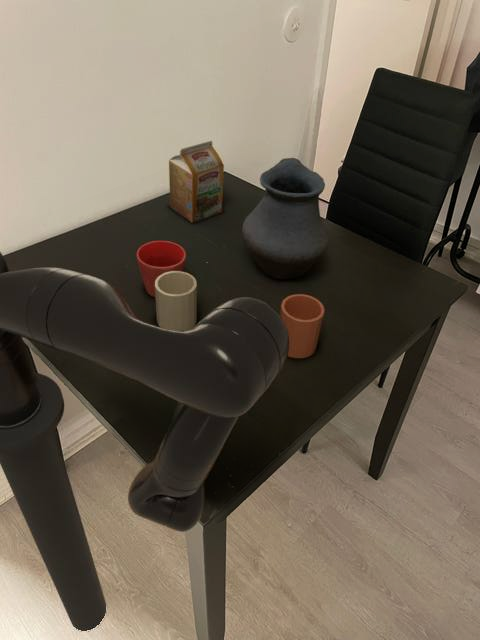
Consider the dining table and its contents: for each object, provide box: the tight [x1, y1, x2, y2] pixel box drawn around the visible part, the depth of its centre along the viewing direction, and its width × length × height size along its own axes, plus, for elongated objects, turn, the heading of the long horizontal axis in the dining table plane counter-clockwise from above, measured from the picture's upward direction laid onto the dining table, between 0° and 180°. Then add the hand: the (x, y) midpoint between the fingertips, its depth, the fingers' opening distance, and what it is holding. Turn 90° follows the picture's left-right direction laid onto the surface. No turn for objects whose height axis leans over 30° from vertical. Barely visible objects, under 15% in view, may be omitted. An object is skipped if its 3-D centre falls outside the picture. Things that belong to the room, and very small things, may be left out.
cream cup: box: [155, 271, 198, 331], centre depth 105 cm, size 8×8×10 cm
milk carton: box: [168, 140, 225, 224], centre depth 139 cm, size 10×11×19 cm
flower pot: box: [136, 240, 187, 298], centre depth 113 cm, size 11×11×10 cm
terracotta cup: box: [279, 293, 325, 359], centre depth 102 cm, size 8×8×10 cm
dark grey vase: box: [241, 157, 330, 280], centre depth 118 cm, size 21×22×25 cm
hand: (226, 339), depth 95 cm, fingers closed on beer can, 5 cm apart
